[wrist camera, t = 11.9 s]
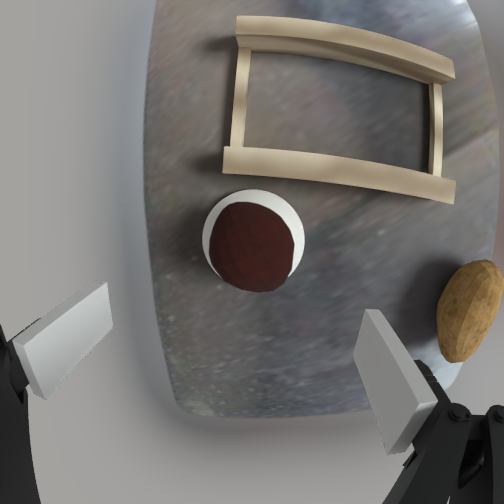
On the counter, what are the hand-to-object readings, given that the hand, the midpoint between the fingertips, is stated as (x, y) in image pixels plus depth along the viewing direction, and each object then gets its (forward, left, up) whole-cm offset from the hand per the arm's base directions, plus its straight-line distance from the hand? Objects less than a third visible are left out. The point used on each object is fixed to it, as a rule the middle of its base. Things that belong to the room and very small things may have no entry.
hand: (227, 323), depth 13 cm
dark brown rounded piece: (0, 0, -18) cm, 18 cm away
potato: (+6, +28, -19) cm, 34 cm away
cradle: (-15, +9, -19) cm, 26 cm away
